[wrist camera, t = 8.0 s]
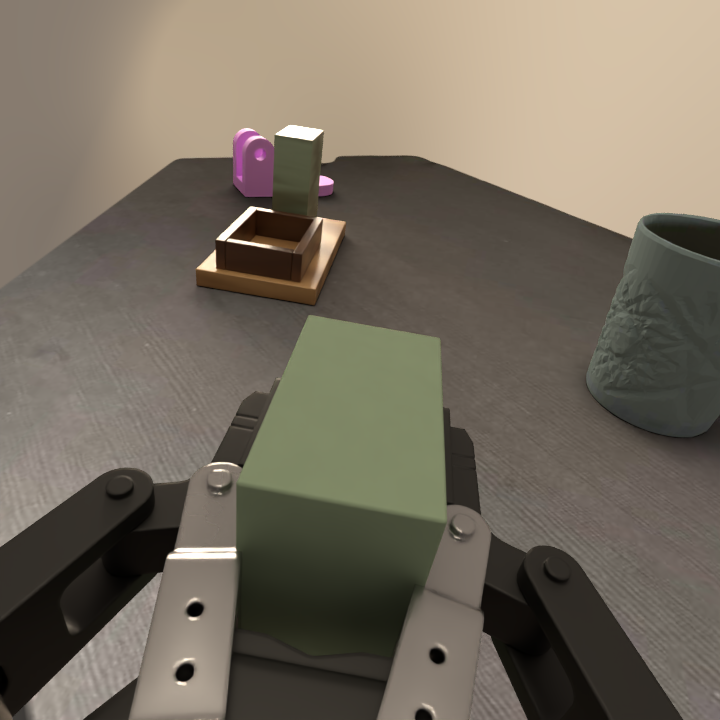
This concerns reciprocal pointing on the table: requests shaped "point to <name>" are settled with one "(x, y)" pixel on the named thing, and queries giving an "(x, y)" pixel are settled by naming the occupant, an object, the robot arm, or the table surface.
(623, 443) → the table surface
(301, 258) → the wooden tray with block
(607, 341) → the grey green embossed cup
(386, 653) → the green rectangular block
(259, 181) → the bracket
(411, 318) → the table surface
